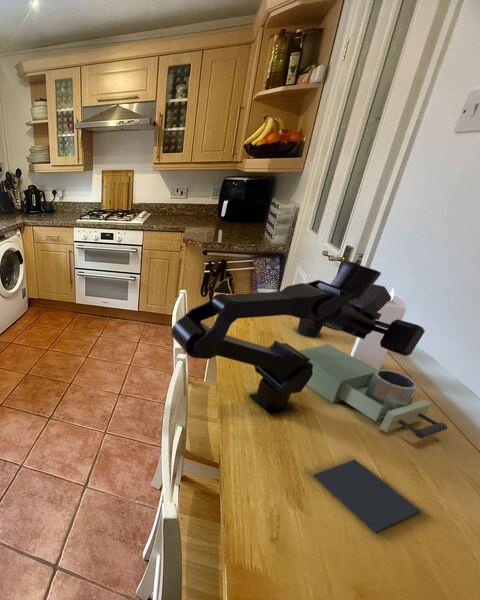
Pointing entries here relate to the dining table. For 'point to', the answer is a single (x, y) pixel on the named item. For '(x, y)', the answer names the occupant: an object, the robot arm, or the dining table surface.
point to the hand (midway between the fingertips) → (385, 335)
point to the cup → (307, 329)
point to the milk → (378, 334)
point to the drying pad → (366, 495)
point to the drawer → (393, 419)
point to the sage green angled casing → (333, 370)
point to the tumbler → (391, 389)
